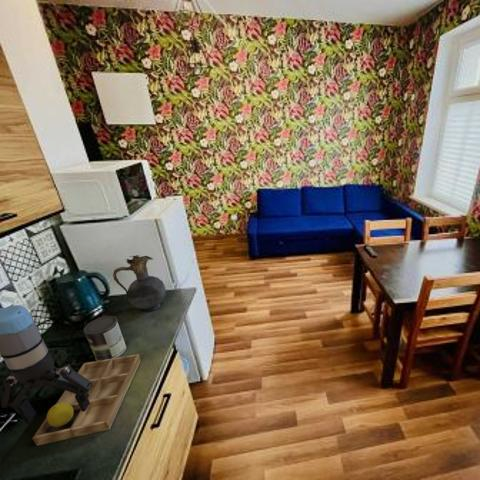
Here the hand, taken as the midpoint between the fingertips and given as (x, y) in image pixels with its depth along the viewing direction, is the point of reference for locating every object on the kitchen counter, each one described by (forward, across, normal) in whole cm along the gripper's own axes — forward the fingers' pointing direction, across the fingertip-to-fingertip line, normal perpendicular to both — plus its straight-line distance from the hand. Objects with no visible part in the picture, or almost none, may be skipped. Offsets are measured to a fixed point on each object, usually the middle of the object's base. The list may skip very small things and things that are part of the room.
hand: (59, 412), depth 79 cm
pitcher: (+6, -5, -58) cm, 58 cm away
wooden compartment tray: (+6, -4, -9) cm, 11 cm away
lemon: (+5, 0, 0) cm, 5 cm away
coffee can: (+6, 0, -30) cm, 30 cm away
